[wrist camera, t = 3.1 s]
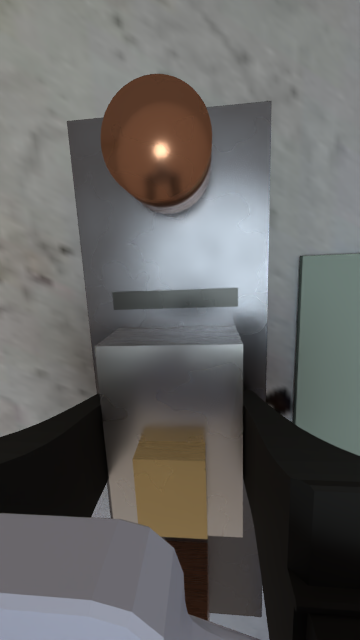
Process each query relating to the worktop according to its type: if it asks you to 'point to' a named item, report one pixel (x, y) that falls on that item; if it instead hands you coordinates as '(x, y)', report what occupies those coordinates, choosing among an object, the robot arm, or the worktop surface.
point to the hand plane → (181, 260)
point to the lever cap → (174, 428)
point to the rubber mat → (329, 350)
